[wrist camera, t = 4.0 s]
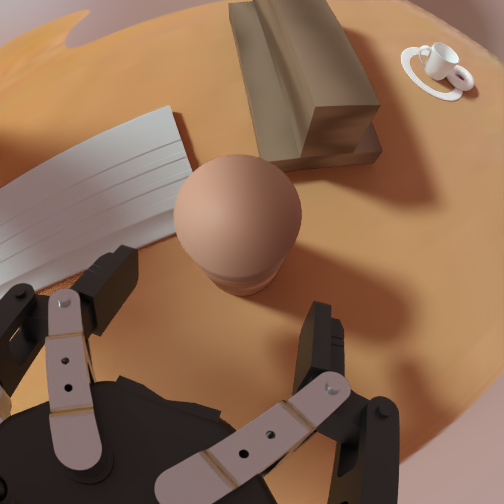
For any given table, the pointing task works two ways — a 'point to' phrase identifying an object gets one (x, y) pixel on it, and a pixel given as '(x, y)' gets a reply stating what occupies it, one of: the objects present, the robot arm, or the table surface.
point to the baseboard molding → (92, 201)
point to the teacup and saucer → (439, 69)
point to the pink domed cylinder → (238, 221)
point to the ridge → (304, 85)
